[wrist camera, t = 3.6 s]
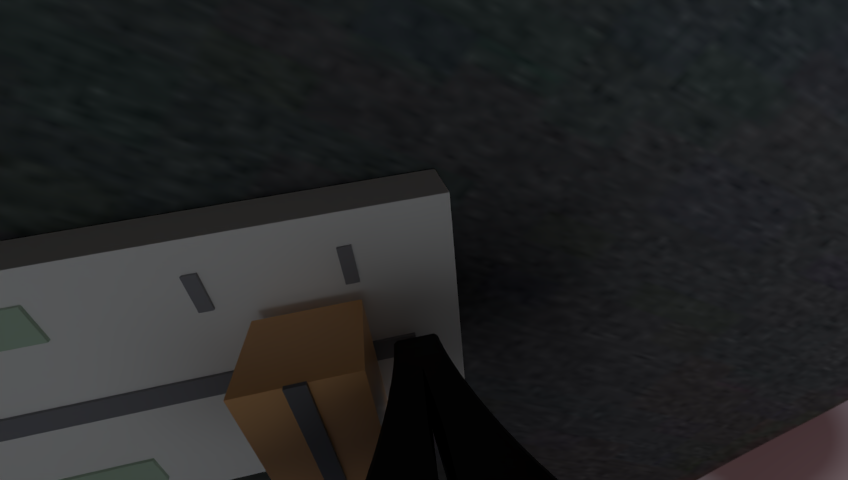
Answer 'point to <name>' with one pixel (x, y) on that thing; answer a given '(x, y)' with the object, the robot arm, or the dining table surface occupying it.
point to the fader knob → (310, 393)
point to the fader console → (200, 320)
